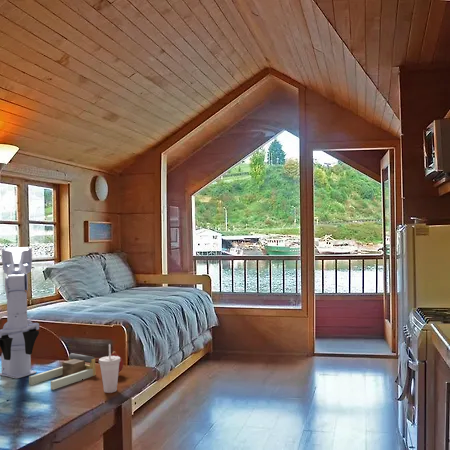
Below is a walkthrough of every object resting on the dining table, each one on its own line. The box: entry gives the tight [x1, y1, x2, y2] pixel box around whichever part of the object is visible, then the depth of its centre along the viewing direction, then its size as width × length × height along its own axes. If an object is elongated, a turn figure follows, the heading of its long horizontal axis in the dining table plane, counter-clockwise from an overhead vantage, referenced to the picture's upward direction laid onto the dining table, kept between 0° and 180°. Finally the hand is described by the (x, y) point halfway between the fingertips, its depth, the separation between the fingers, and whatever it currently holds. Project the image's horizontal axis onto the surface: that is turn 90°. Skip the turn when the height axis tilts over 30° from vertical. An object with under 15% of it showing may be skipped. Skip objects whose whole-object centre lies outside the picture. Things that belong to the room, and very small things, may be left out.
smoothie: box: [98, 343, 121, 394], centre depth 156 cm, size 6×6×14 cm
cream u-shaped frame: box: [28, 352, 97, 390], centre depth 169 cm, size 11×18×6 cm, turn 148°
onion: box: [111, 350, 124, 374], centre depth 172 cm, size 6×6×8 cm
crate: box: [61, 359, 86, 377], centre depth 172 cm, size 5×5×5 cm
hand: (18, 356), depth 162 cm, fingers open, 7 cm apart
